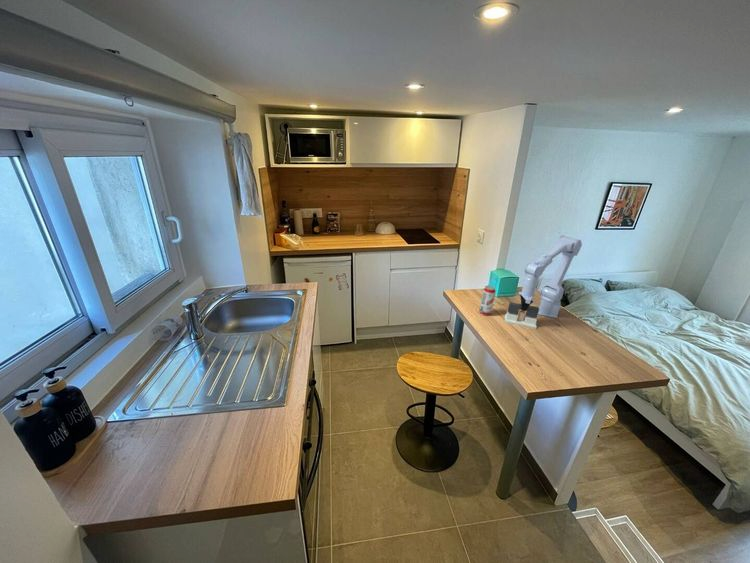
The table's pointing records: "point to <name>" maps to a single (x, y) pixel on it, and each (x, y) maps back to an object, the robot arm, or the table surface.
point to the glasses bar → (515, 307)
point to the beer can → (487, 300)
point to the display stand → (520, 319)
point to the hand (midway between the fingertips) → (523, 309)
